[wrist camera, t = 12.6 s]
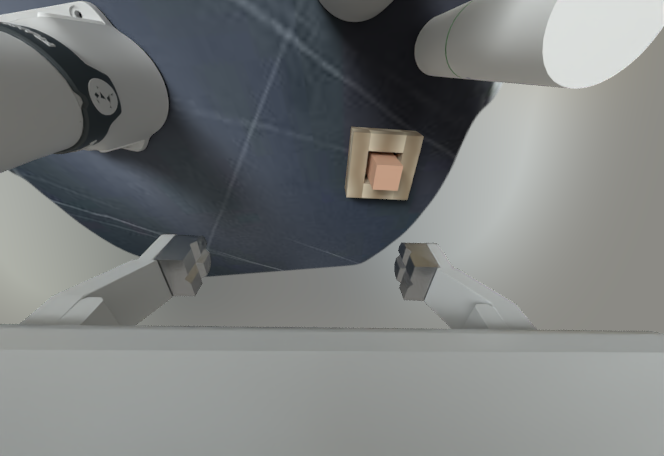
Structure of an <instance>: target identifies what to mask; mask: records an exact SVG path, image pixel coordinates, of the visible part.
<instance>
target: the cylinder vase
mask: <svg viewBox="0 0 664 456" xmlns="http://www.w3.org/2000/svg"><path fill="white" fill-rule="evenodd" d="M319 1H320V3H321V4H322V5H323V6H324V8H325V9H326V10H327V11H328V12H330V13H331V14H332V15H334V16H335V17H337V18H339V19H341V20H344V21H349V22H361V21H365V20H368V19H371V18H373V17H374V16H376V15H378V14H379V13H380V12H382V11H383V10H384V9H385V8H386V7H387V6H388V5H389V4H390V3H391V2H392V1H394V0H319Z"/></svg>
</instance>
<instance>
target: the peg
mask: <svg viewBox="0 0 664 456" xmlns="http://www.w3.org/2000/svg"><path fill="white" fill-rule="evenodd" d="M402 170H403V165H402V164H401V163H400V161H399V160H398V159H397V158H396V156H395V155H394V154H393V153H392V152H378V151H368V158H367V165H366V171H365V172H366V174H367V177H368V179H369V182H370V184H371V187H372V189H373V190H391V191H398V187H399V183H400V179H401V174H402Z"/></svg>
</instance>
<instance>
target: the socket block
mask: <svg viewBox="0 0 664 456" xmlns="http://www.w3.org/2000/svg"><path fill="white" fill-rule="evenodd" d="M423 138H424V136H422V135H421V134H419V133H418V132H417V131H409V130H394V129H378V128H363V127H351V133H350V143H349V153H348V162H347V172H346V182H345V191H346V197H353V198H374V199H395V200H407V199H408V195H409V192H410V188H411V184H412V180H413V176H414V173H415V169H416V165H417V161H418V157H419V153H420V150H421V146H422V142H423ZM368 151H378V152H395V156H396V158H397V159H398V160H399V161H400V163H401V164H402V165H403V170H402V174H401V179H400V183H399V187H398V191H391V190H373V189H372V187H371V184H370V182H369V179H368V177H367V175H365V171H366V165H367V158H368Z"/></svg>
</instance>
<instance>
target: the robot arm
mask: <svg viewBox="0 0 664 456" xmlns="http://www.w3.org/2000/svg"><path fill="white" fill-rule="evenodd" d="M79 12H80V13H81V14H82V18H81V17H80V16H79ZM168 109H169V101H168V94H167V90H166V86H165V84H164V81H163V79H162V77H161V75H160V73H159V71H158V69H157V68H156V66H155V64H154V63H153V62H152V60H151V59H150V58H149V56H148V55H147V54H146V53H145V52H144V51H143V50H142V49H141V48H140V47H139V46H138V45H137V44H136V43H135V42H133V41H132V40H131V39H129V38H128V37H127V36H125V35H124V34H122V33H121V32H119V31H118V30H117V29H116V28H115V27H113V25H112V24H111V23H110V22H109V21H108V19H107V18H106V17H105V16H104V14H103V13H102V12H101V11H100V10H99V9H98V8H97V7H96V6H95V5H93V4H92V3H90V2H85V1H77V2H72V3H66V4H60V5H55V6H49V7H43V8H37V9H32V10H26V11H20V12H15V13H9V14H3V15H0V173H2V172H4V171H7V170H9V169H12V168H15V167H17V166H20V165H22V164H25V163H28V162H30V161H33V160H36V159H39V158H41V157H44V156H47V155H50V154H65V153H69V152H76V151H80V150H83V149H84V150H88V151H91V150H99V151H100V152H109V151H112V150H116V149H119V148H123V149H127V150H131V151H136V152H139V151H143V150H144V149H145V148H146V147H147V145H148V142H149V139H150V137H151V136H152V135H153V134H154V133H155V132H157V131H158V130H159V129H160V128H161V127H162V126H163V124H164V123H165V121H166V118H167V115H168ZM206 246H207V242H206V239H205V237H203V236H196V235H176V234H163V235H161V236H160V237H159V238H158V239H157V240H156V241H155V242H154V243H153V244H152V245H151V246H150V247H149V248H148V249H147V250H146V251H145V252H144V253H143V254H142V255H141V256H140V257H139V259H138V260H131V261H129V262H126V263H124V264H122V265H120V266H118V267H115V268H113V269H111V270H109V271H106V272H104V273H102V274H100V275H97V276H95V277H93V278H91V279H89V280H87V281H84V282H82V283H80V284H77V285H75V286H73V287H71V288H68V289H66V290H64V291H62V292H60V293H57V294H55V295H53V296H52V297H51V298H50V299H48V300H47V301H46V302H45V303H44V304H42V305H41V306H40V307H39V308H38V309H37V310H35V311H34V312H33V313H32V314H31V315H29V316H28V317H27V318H26V319H25V320H24V321H22V322H21V323H20V324H0V456H664V334H662V333H658V332H651V331H593V330H591V331H590V330H537V329H536V328H535V327H534V325H533V324H532V323H531V322H530V320H529V319H528V318H527V317H526V316H525V314H524V313H523V312H522V311H521V309H520V308H519V307H518V306H517V304H515V303H514V302H512V301H510V300H509V299H507V298H506V297H504V296H502V295H500V294H499V293H497V292H496V291H494V290H492V289H491V288H489V287H487V286H486V285H484V284H483V283H481V282H479V281H478V280H476V279H474V278H473V277H471V276H469V275H468V274H466V273H465V272H463V271H461V270H460V269H458V268H454V267H453V266H452V264H451V263H450V261H449V260H448V258H447V257H446V256H445V254H444V252H443V251H442V249H441V248H440V246H439V245H438V244H437V243H401V245H400V246H399V250H398V251H399V253H400V255H399V256H398V257H397V258H396V261H395V276H396V279H397V280H398V281H399V282H400V283H401V284H400V290H401V293H402V296H403V299H404V300H418V301H424V302H425V303H426V304H427V305H428V306H429V307H430V308H431V309H432V310H433V311H434V312H435V313H436V314H437V315H438V316H439V317H440V318H441V319H442V320H443V321H444V322H445V323H446V324H447V325H448V326H449V327H450V328H451V329H398V328H316V327H219V326H216V327H215V326H135V325H137V324H138V323H139V322H141V321H142V320H143V319H145V318H146V317H147V316H149V315H150V314H151V313H152V312H154V311H155V310H156V309H158V308H159V307H160V306H162V305H163V304H164V303H166V302H167V301H168V300H169V299H171V298H172V296H195V295H196V294H197V292H198V290H199V288H200V287H201V285H202V280H201V279H202V278H203V277H205V276H206V275H207V274H208V272H209V270H210V266H211V256H210V253H209V252H208V251H207V250H206V249H205V247H206Z"/></svg>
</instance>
